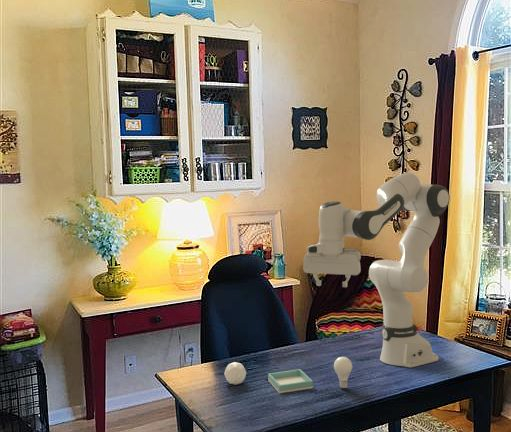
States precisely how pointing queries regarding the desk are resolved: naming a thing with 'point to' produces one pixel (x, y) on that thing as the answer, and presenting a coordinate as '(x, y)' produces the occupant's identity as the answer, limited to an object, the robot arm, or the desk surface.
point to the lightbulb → (343, 370)
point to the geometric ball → (235, 373)
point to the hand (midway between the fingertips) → (331, 286)
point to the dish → (290, 381)
